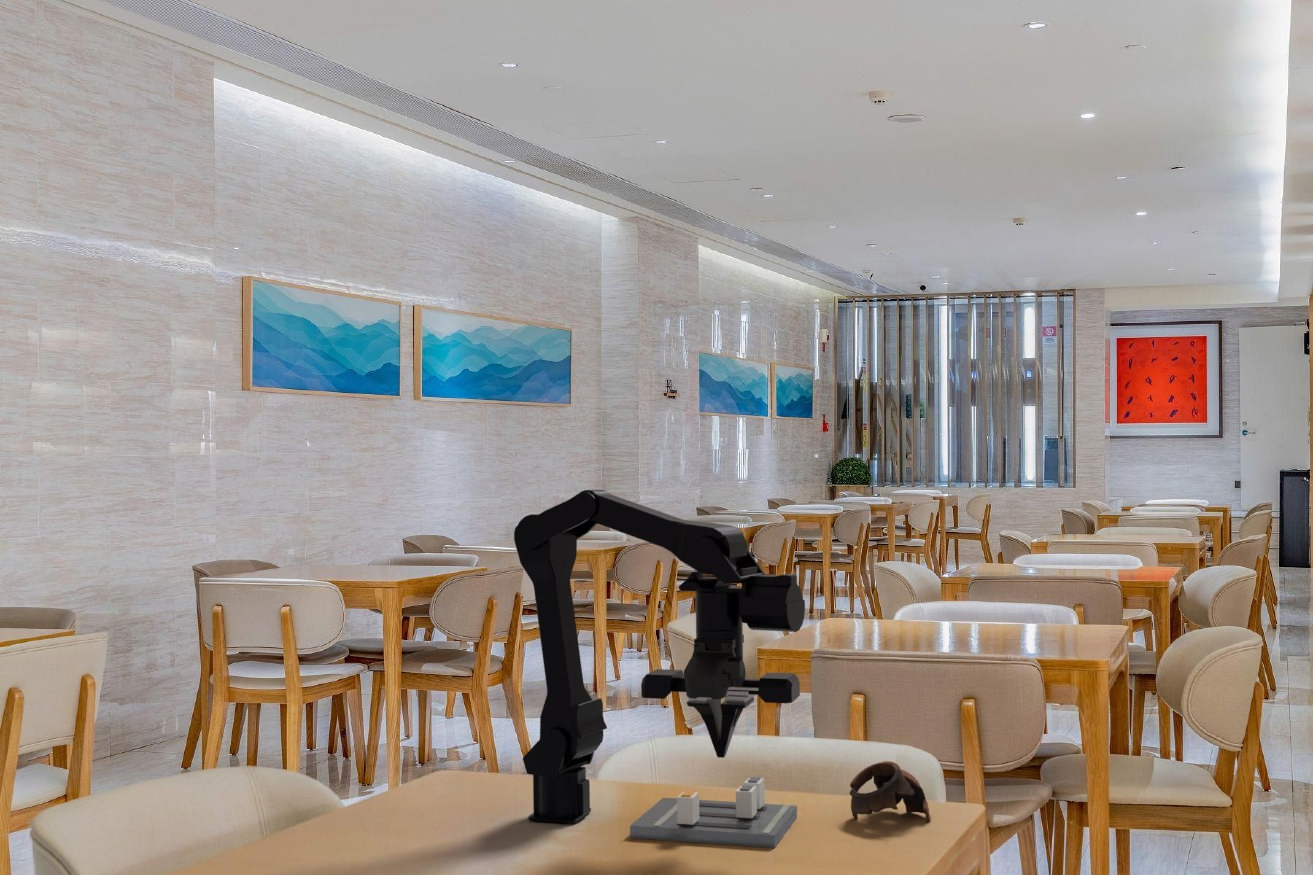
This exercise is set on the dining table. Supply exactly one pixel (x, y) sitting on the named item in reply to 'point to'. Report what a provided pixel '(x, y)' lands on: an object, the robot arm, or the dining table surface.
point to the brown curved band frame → (887, 791)
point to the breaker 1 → (688, 807)
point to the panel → (716, 824)
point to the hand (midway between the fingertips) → (721, 756)
